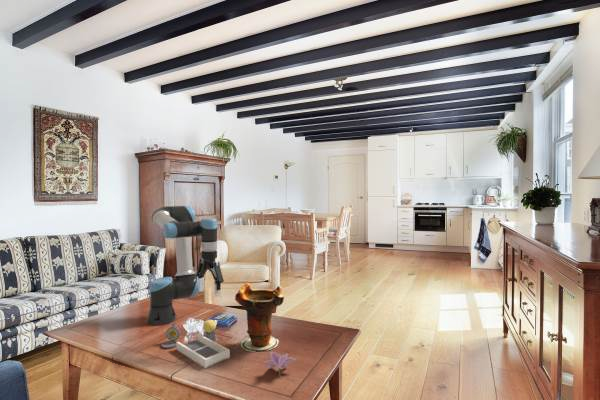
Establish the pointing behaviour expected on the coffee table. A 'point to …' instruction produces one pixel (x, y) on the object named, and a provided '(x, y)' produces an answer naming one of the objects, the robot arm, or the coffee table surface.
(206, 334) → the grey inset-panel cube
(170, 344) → the pocket watch
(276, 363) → the lily
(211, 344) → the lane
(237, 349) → the coffee table surface
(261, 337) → the decorative vase
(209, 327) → the ball
